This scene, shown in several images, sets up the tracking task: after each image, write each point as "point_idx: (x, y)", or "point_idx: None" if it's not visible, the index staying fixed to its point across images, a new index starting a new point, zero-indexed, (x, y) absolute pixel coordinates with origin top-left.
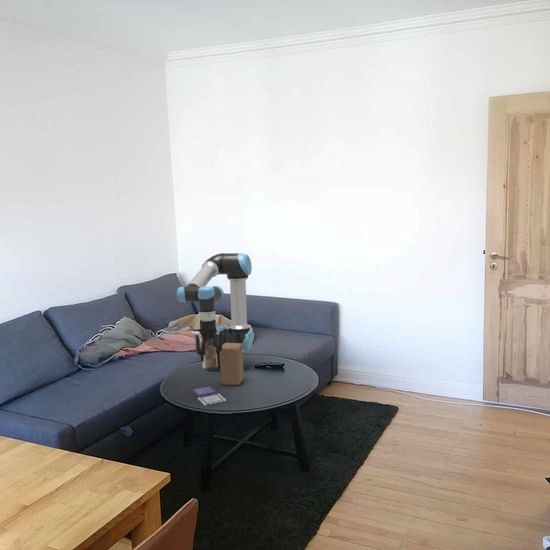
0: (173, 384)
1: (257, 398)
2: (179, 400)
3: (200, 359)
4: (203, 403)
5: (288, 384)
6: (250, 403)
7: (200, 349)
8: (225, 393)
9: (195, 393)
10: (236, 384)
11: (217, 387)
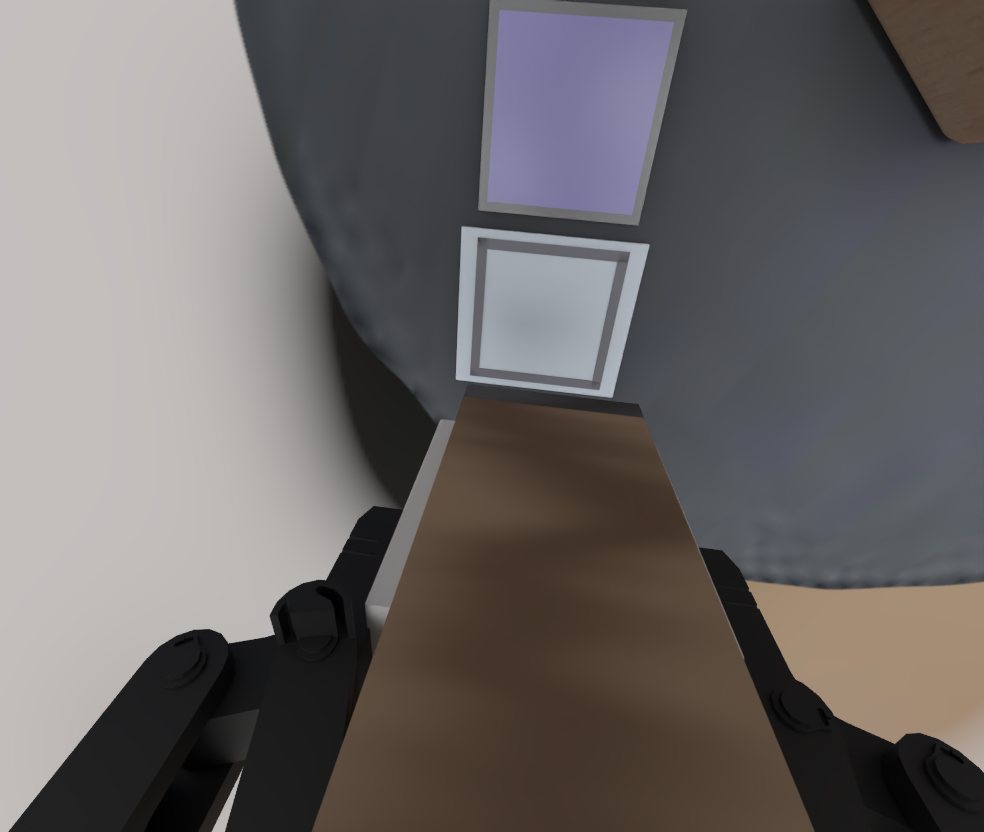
0: None
1: (791, 473)
2: (322, 167)
3: (353, 537)
4: (458, 356)
5: None
6: (699, 504)
7: (244, 779)
8: (701, 259)
9: (485, 101)
10: (940, 127)
11: (757, 43)
